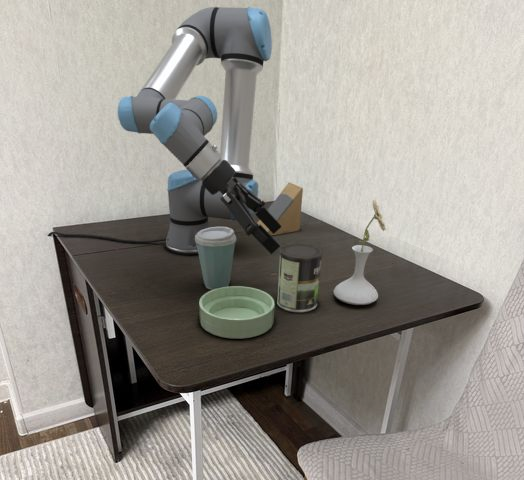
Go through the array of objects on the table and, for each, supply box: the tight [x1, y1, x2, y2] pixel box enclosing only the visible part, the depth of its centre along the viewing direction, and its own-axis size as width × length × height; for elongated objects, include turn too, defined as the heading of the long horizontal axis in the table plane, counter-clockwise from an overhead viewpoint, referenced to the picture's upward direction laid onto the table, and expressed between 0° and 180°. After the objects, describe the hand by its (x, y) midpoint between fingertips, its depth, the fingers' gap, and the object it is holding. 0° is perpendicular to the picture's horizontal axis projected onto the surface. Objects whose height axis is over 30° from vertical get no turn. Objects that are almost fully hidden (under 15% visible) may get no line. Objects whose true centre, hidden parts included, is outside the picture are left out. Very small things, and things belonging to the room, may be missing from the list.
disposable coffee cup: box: [195, 226, 237, 291], centre depth 125 cm, size 11×11×15 cm
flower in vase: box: [333, 199, 387, 306], centre depth 118 cm, size 13×11×25 cm
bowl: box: [198, 285, 276, 339], centre depth 111 cm, size 17×17×5 cm
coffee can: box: [276, 242, 324, 313], centre depth 118 cm, size 10×10×14 cm
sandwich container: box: [257, 181, 304, 236], centre depth 166 cm, size 9×15×15 cm, turn 122°
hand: (276, 239), depth 113 cm, fingers open, 13 cm apart
